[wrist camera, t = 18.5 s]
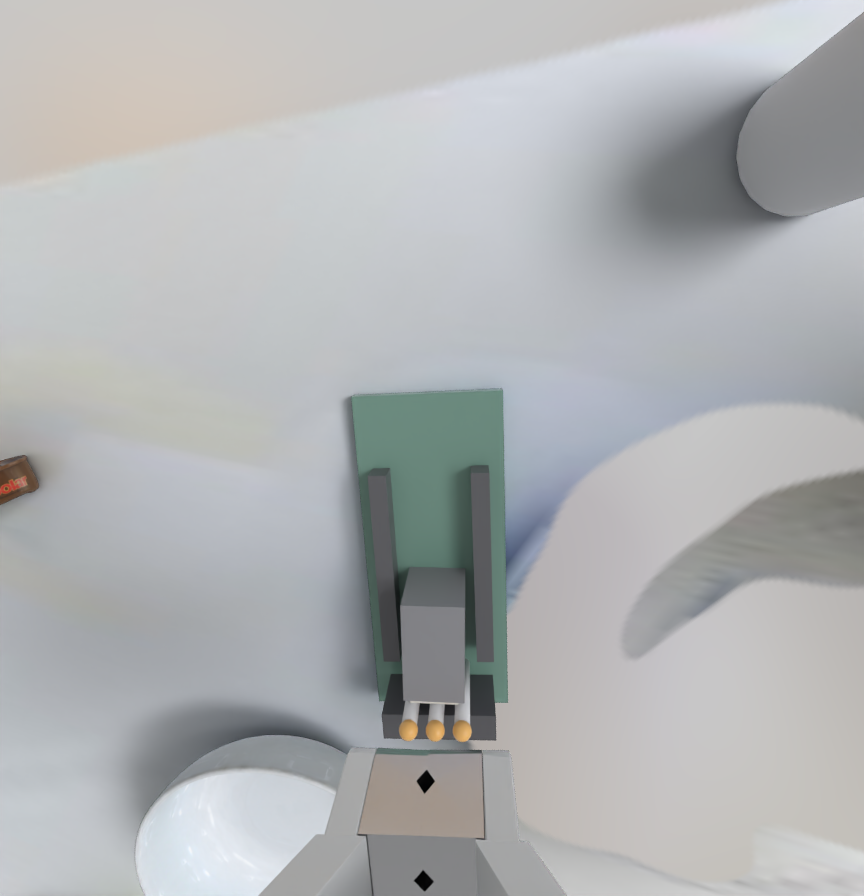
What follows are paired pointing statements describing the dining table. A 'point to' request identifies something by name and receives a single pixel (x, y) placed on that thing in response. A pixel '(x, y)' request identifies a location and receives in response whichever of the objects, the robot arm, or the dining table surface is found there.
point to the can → (809, 132)
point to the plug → (433, 635)
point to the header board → (436, 541)
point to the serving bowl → (237, 817)
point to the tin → (16, 478)
